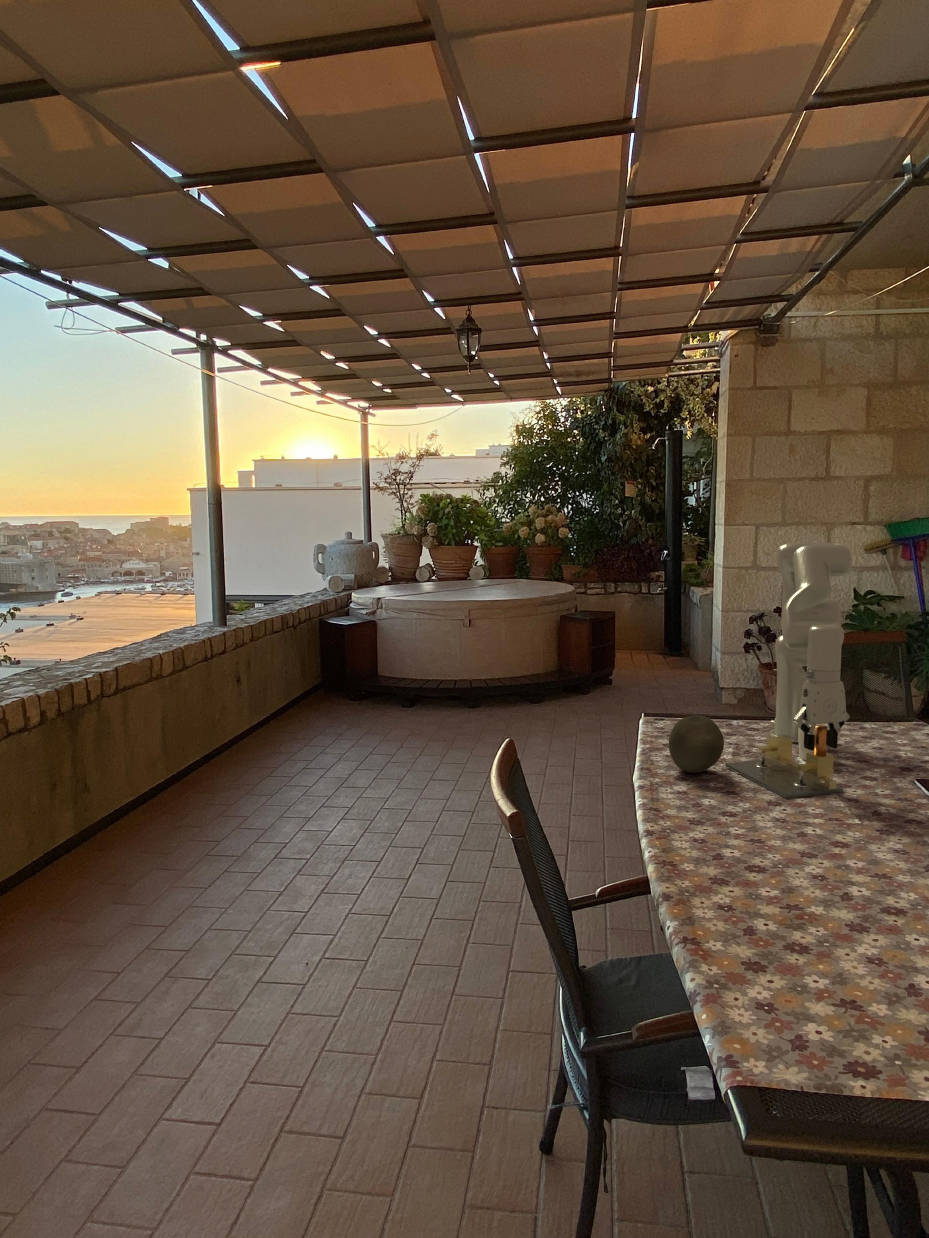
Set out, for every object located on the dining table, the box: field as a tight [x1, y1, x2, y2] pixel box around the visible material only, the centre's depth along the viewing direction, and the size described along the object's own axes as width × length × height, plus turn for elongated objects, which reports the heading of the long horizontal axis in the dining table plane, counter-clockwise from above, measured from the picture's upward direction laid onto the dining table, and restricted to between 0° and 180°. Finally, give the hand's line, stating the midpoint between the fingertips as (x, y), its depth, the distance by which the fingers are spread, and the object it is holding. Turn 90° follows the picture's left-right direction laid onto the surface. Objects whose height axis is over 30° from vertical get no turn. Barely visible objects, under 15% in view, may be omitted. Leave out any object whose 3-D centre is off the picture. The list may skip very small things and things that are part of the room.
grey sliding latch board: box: [724, 736, 844, 799], centre depth 212 cm, size 26×16×8 cm, turn 15°
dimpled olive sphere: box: [668, 715, 725, 774], centre depth 218 cm, size 14×14×15 cm
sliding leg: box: [797, 725, 835, 783], centre depth 204 cm, size 4×8×14 cm, turn 105°
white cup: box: [798, 720, 829, 761], centre depth 229 cm, size 8×8×10 cm
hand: (820, 747), depth 205 cm, fingers open, 5 cm apart
